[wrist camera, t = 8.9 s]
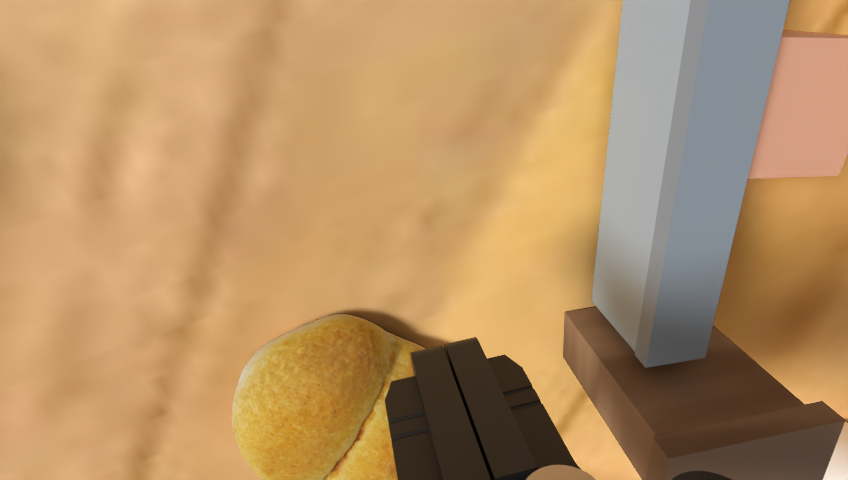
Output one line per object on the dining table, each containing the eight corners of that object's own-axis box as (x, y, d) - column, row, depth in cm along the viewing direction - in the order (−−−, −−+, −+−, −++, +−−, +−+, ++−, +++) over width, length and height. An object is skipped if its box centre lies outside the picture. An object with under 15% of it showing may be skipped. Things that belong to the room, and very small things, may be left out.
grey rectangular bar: (628, -115, 15) (735, -152, 11) (697, -117, 15) (826, -156, 11) (586, 298, 21) (645, 367, 17) (636, 291, 21) (705, 357, 18)
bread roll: (295, 276, 19) (287, 341, 15) (482, 362, 22) (511, 431, 19) (199, 428, 21) (173, 515, 18) (381, 485, 25) (391, 568, 21)
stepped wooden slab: (673, 340, 23) (819, 488, 16) (556, 363, 23) (656, 526, 16) (682, 285, 22) (845, 420, 15) (558, 307, 21) (668, 458, 14)
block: (780, 29, 18) (892, 38, 14) (746, 142, 20) (838, 175, 16) (676, 27, 17) (767, 36, 14) (650, 144, 19) (725, 179, 15)
